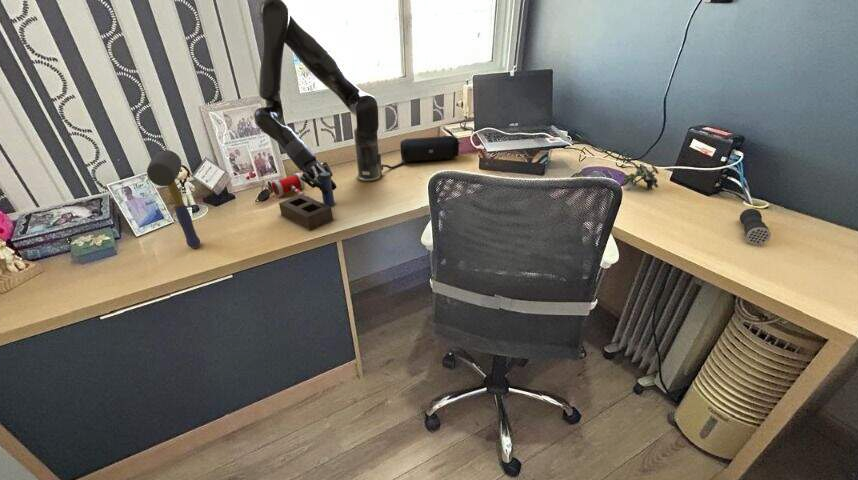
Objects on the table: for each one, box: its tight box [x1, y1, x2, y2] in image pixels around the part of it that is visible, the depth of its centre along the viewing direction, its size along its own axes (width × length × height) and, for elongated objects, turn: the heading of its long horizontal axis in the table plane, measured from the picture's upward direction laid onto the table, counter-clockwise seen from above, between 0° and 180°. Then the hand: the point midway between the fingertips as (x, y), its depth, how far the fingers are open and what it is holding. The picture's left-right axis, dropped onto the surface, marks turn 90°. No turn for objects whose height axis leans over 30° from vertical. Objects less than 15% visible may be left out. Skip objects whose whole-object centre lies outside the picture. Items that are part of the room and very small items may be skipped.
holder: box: [278, 194, 334, 231], centre depth 147 cm, size 10×18×5 cm, turn 46°
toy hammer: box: [270, 172, 310, 198], centre depth 160 cm, size 23×12×6 cm, turn 43°
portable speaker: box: [399, 135, 460, 163], centre depth 188 cm, size 26×10×10 cm, turn 96°
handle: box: [319, 172, 336, 208], centre depth 153 cm, size 4×4×12 cm
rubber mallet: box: [146, 149, 201, 249], centre depth 126 cm, size 12×8×30 cm, turn 14°
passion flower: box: [619, 163, 659, 190], centre depth 155 cm, size 11×11×12 cm
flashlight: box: [739, 208, 772, 246], centre depth 127 cm, size 15×5×5 cm, turn 154°
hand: (331, 190), depth 152 cm, fingers closed on handle, 4 cm apart
